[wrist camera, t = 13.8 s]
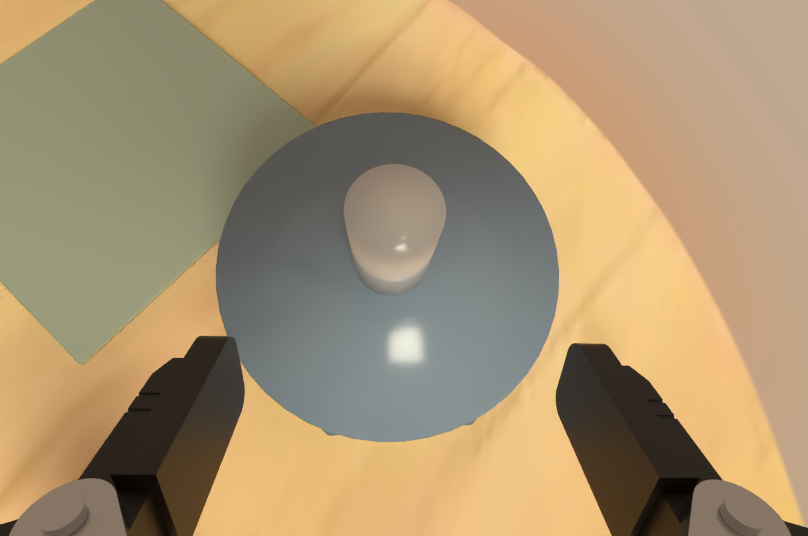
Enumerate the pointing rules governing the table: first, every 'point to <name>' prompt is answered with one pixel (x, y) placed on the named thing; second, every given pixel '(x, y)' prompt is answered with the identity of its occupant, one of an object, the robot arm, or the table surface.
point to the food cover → (387, 277)
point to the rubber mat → (122, 162)
